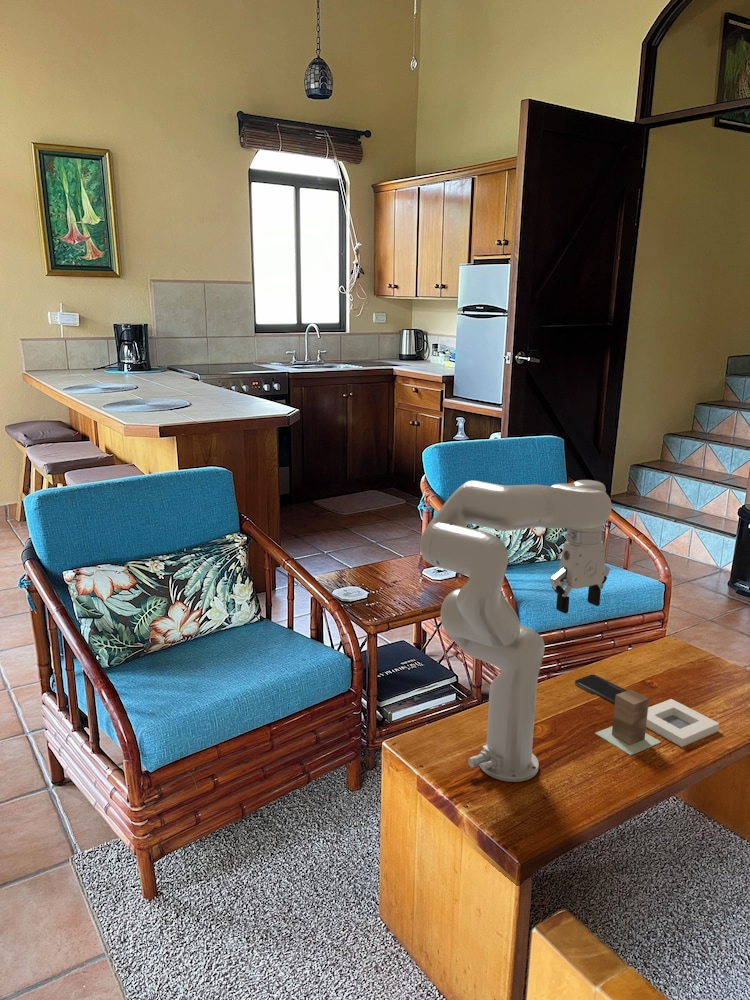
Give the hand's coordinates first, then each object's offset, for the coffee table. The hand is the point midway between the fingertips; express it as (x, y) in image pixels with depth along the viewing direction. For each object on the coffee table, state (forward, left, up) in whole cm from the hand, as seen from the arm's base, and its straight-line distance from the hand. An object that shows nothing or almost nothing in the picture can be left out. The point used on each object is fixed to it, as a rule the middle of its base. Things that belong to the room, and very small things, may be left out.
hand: (577, 607), depth 168 cm
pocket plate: (+19, -15, -28) cm, 37 cm away
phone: (+18, +5, -29) cm, 34 cm away
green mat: (+5, -13, -28) cm, 31 cm away
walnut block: (+5, -13, -28) cm, 31 cm away
